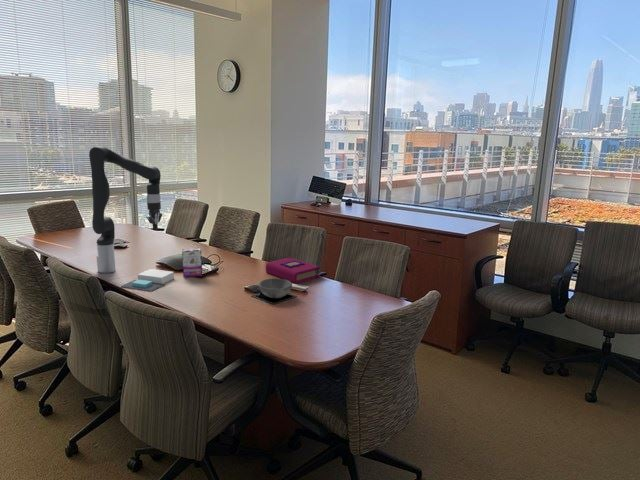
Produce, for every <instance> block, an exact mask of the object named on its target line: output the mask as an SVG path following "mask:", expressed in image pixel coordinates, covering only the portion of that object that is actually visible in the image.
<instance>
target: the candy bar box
mask: <svg viewBox="0 0 640 480" xmlns="http://www.w3.org/2000/svg"><path fill="white" fill-rule="evenodd" d="M181 251H182V254H181V255H182V256H181V257H182V273H183V274H182V276H183V278H188V277H189V278H191V277H202V276H203V263H202V262H203V261H202V248H201V247H200V248H185V249H184V248H182V250H181Z"/></svg>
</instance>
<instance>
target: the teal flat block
mask: <svg viewBox="0 0 640 480" xmlns="http://www.w3.org/2000/svg"><path fill="white" fill-rule="evenodd" d="M135 280H136V281H134V282H132V286H136V287H142V288H147V287H149V286H151V285H153V284H152V281H146V280H138V279H135Z"/></svg>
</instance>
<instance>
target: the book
mask: <svg viewBox="0 0 640 480" xmlns="http://www.w3.org/2000/svg"><path fill="white" fill-rule="evenodd" d="M320 267H321V266H320V265H316V264H313V263H310V262H307V261H303V260H300V259H297V258H295V257H286V258H285V257H284V258H281V259H276V260H273V261H269V262H266V264H265V272H266V273H267V274H269V275H272V276H275V277H278V278H279V279H284V280H288V281H290V282H291V283H294V284H300V283H304V282H307V281H311V280H315V279H319V278H320V274H318V273H316V271H318V270H321V268H320Z"/></svg>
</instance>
